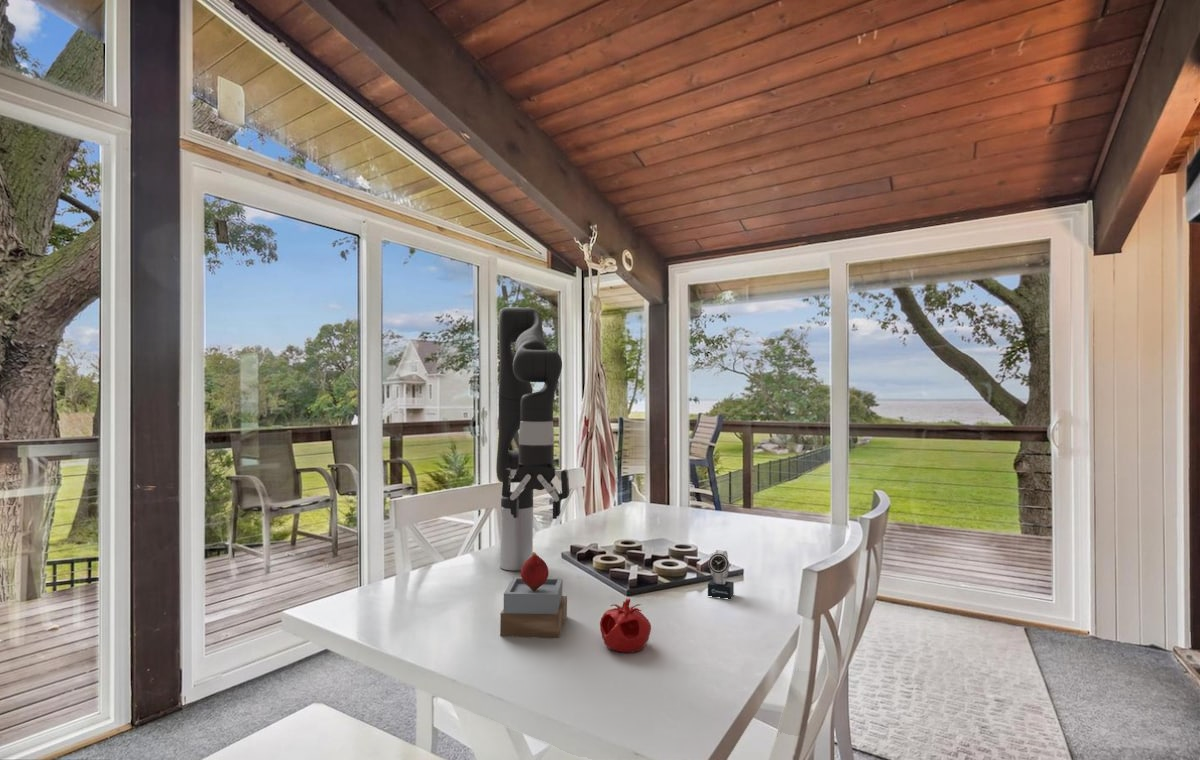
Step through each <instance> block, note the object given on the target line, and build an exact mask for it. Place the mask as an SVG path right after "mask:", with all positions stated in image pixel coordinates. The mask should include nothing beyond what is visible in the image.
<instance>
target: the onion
mask: <svg viewBox="0 0 1200 760" xmlns="http://www.w3.org/2000/svg"><path fill="white" fill-rule="evenodd" d="M520 577H522V580H523V582H524V583H525V584H526V585H527V586H528V587H529V588H530V589H531V590H536V589H538V588H539V587H541V586H542V585H543V584H544V583H545V582H546V580H547V578H549V567H548V564H547V563H546V561H544V560H543V558H541V556H539V555H538V554H537V553H536V552H535V551H533V552H532V557H530V558H529V559H528V560H527V561H526V562H525V563H524V564H523V566H522V569H521V570H520Z"/></svg>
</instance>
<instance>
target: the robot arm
mask: <svg viewBox="0 0 1200 760" xmlns="http://www.w3.org/2000/svg"><path fill="white" fill-rule="evenodd" d="M512 343H515V346H514V347H515V355H514V352H513V349H512ZM498 347H499V349H498V350H499V351H498V352H499V382H498V405H497V406H498V437H497V439H498V440H497V453H496V454H497V455H496V465H495V466H496V468H495V469H496V478H497V480H498V481H499V482H500V483H502V486H501V487H502V488H501V489H502V490H501V496H502V497H501V499H500V543H499V544H500V550H499V552H500V553H499V556H500V558H499V567H500V568H501V569H502V570H506V571H514V572H515V571H521V569H522V566H523V564H524V563H525V562H526V561H527V560H528V559H529V558H530V557H532V552H534V547H533V546H534V545H533V543H534V542H533V541H534V540H533V539H534V490H536V491H543V490H545V491H546V492H547V493H548V495H550V497H551V498H552V499H553V501H552V519H553V520H557V518H558V517H559V516H560V515H561V507H562V506H561V505H562V503H561V502H562V500H565V499H567V498H568V497H569V496H570V483H569V482H570V479H569V478H570V477H569V470H568V469H567V468H565V469H562V470H561V469H560V470H556V469H555V466H554V462H555V461H554V455H555V454H554V452H555V448H554V447H555V430H554V429H555V427H554V422H553V421H554V400H555V393H556V390H557V385H558V382H559V379H560V376H561V373H562V369H563V361H562V358H561V355H560V354H559V353H558V352H557V351H555V350H554V349H553V350H551V349H549V350H548V347H547V345H546V343H545V340H544V331H543V320H542V317H541V314H540V312H539V311H538V310H537V309H536V308H534V307H513V306H510V307H509V306H508V307H507V306H506V307H502V308H501V309H500V310H499V315H498ZM531 383H544V385H543V387H542V389H540V390H539V391H536V392H533V386H532V384H531ZM517 433H518V438H517V439H518V450H516V449H515V450H510V447H511V445H512V441H513V439H514V438H515V436H516V434H517ZM555 477H557V479H558V481H560V483H561V485H560V486H561V492H559V491H558V489H557V488H556V486H555V484H554V483H553V480H554V479H555ZM512 483H515V484H516V483H519V484H518V485H517V486H516V488H515V489H514V491H511V488H512V487H511V485H512Z"/></svg>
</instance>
